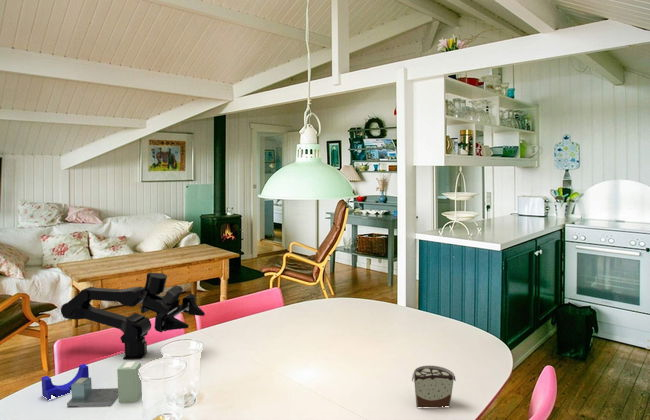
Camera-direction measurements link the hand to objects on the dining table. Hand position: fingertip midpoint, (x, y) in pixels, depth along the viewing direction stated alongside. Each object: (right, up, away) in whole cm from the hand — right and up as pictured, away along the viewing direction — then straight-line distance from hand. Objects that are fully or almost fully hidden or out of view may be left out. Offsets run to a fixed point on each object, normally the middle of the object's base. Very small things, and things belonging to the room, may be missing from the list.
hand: (196, 320), depth 151 cm
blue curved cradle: (-34, -17, -17) cm, 42 cm away
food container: (+75, -18, -24) cm, 80 cm away
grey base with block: (-23, -17, -22) cm, 37 cm away
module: (-13, -17, -22) cm, 31 cm away
